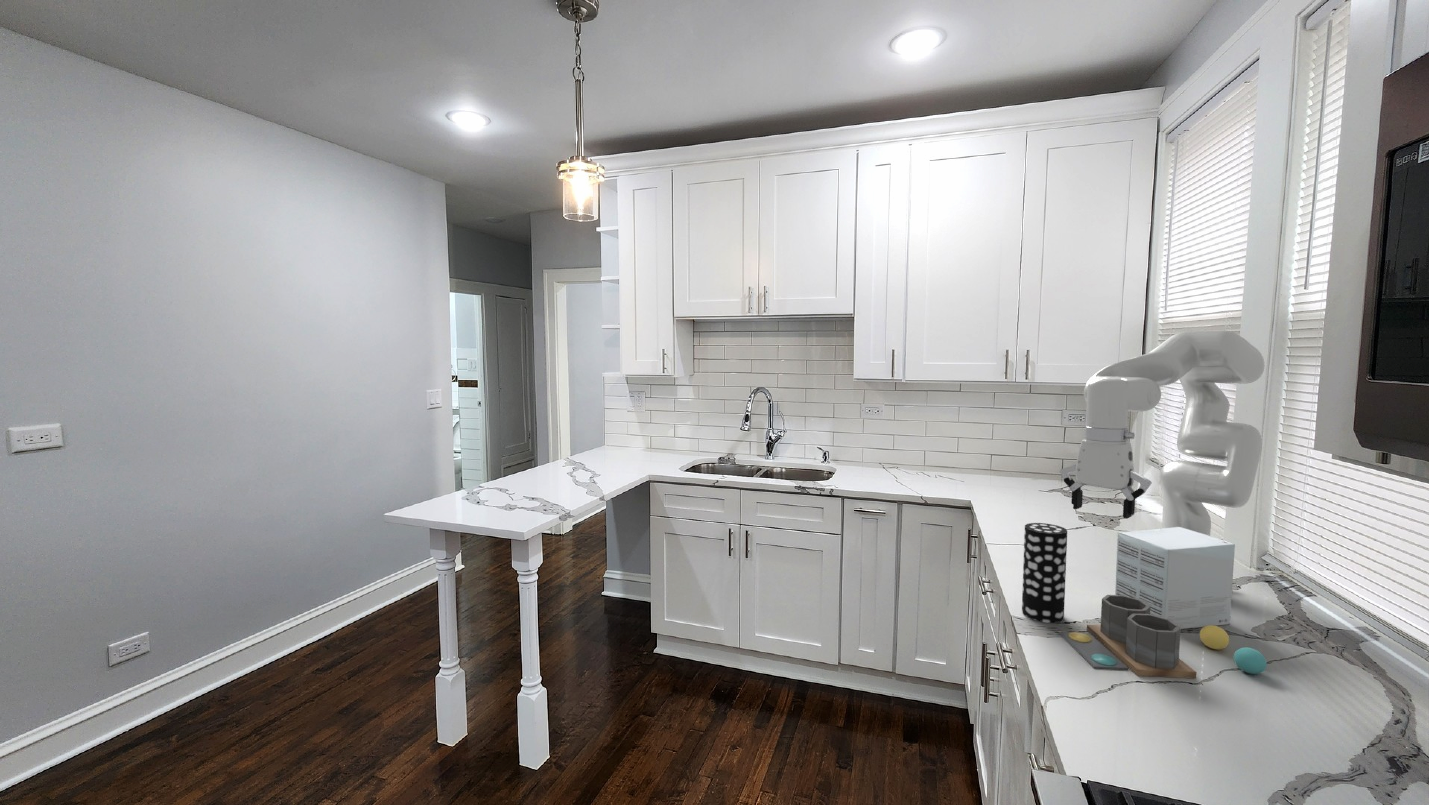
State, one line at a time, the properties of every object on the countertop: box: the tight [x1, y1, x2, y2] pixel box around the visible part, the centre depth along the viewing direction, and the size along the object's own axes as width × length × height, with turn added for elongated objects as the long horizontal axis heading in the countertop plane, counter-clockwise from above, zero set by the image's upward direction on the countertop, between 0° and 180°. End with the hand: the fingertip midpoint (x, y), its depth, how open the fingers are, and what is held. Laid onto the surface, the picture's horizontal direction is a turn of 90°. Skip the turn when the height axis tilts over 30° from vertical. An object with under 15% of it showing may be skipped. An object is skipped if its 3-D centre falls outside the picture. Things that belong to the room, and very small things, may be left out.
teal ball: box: [1233, 647, 1268, 675], centre depth 109 cm, size 4×4×4 cm
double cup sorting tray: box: [1086, 594, 1197, 679], centre depth 117 cm, size 10×18×8 cm, turn 174°
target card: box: [1058, 631, 1129, 671], centre depth 118 cm, size 6×14×1 cm, turn 174°
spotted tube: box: [1021, 522, 1068, 624], centre depth 133 cm, size 8×8×20 cm
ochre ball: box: [1199, 625, 1230, 650], centre depth 118 cm, size 4×4×4 cm
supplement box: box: [1114, 527, 1236, 630], centre depth 132 cm, size 17×13×18 cm
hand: (1101, 512), depth 130 cm, fingers open, 9 cm apart
